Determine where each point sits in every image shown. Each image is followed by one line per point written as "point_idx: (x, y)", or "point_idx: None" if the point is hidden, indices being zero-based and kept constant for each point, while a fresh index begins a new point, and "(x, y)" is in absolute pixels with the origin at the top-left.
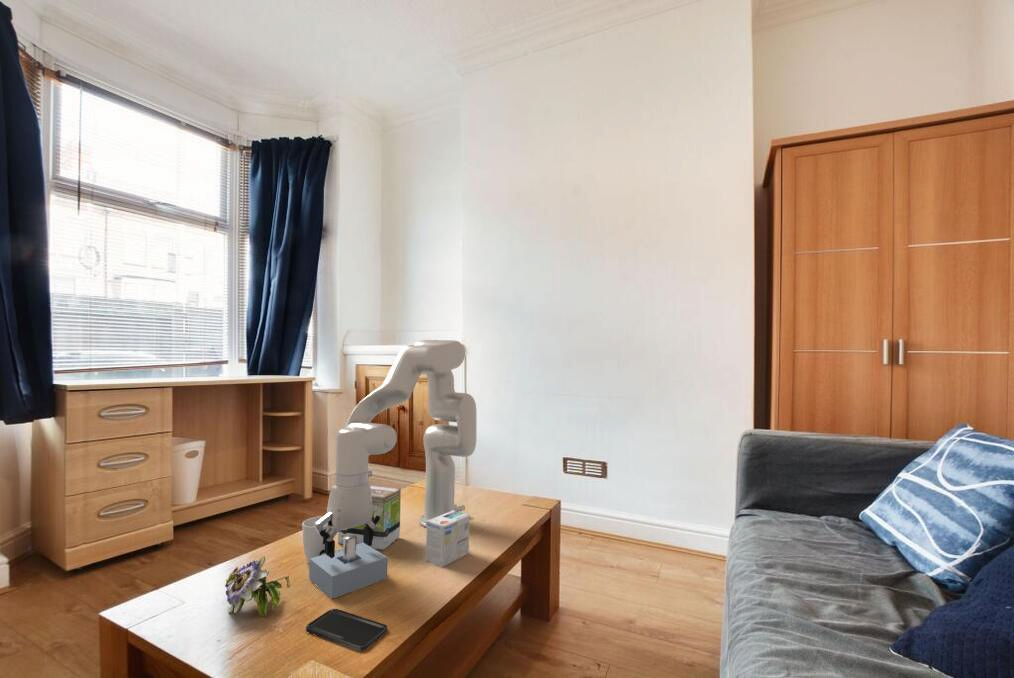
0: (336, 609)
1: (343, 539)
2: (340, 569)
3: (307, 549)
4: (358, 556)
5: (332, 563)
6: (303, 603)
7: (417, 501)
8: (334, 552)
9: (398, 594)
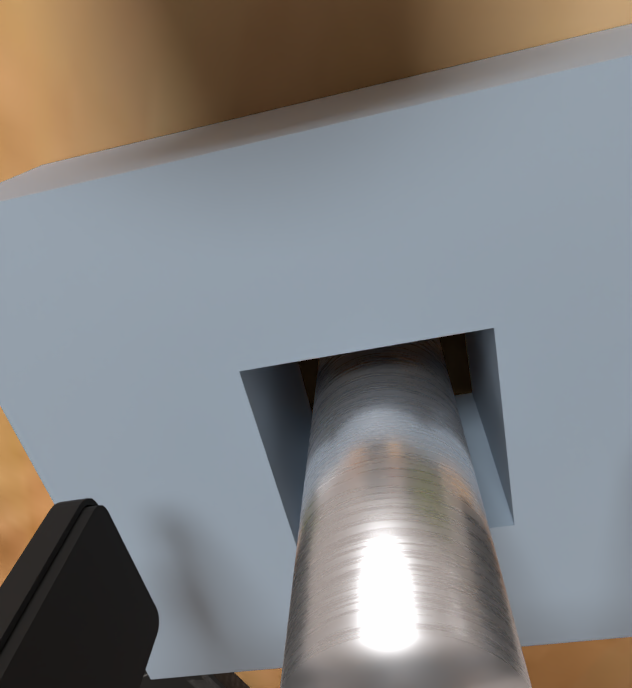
0: None
1: (281, 680)
2: (234, 621)
3: None
4: (505, 444)
5: (179, 483)
6: (22, 491)
7: None
8: (141, 675)
9: (582, 662)
